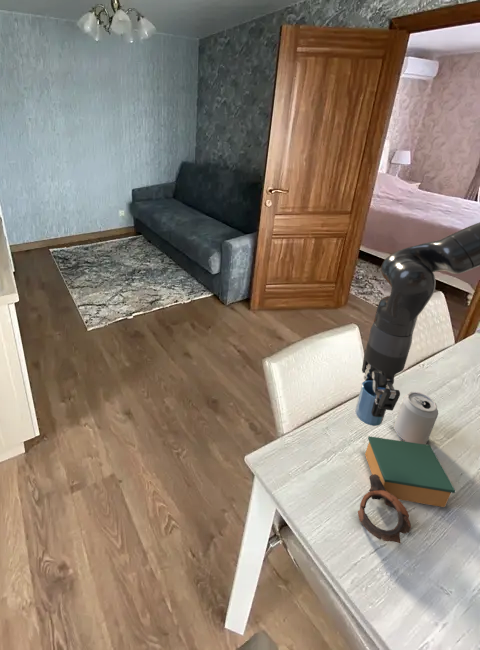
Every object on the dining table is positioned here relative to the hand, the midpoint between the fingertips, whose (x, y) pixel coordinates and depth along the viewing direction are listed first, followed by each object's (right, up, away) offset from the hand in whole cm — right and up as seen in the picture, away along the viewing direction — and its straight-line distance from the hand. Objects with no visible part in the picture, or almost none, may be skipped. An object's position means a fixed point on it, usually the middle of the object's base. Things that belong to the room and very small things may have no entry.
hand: (371, 404), depth 79 cm
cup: (0, -3, +1) cm, 4 cm away
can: (+17, -14, +12) cm, 24 cm away
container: (+7, -18, +1) cm, 19 cm away
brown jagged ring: (-2, -21, -7) cm, 22 cm away
